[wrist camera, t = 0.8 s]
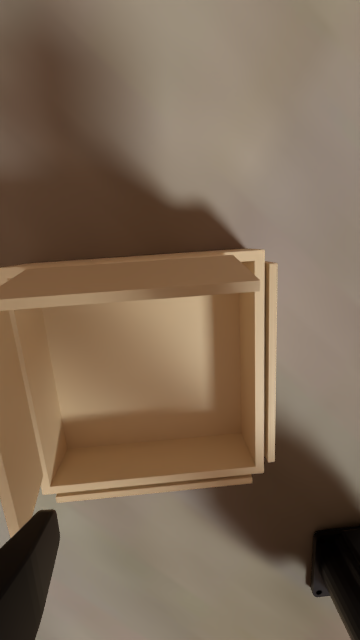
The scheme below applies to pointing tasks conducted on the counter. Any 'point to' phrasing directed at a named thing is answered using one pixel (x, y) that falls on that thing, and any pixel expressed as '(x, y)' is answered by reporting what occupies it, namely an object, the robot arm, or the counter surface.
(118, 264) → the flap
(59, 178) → the counter surface
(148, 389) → the carton
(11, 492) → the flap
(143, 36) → the counter surface
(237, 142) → the counter surface
